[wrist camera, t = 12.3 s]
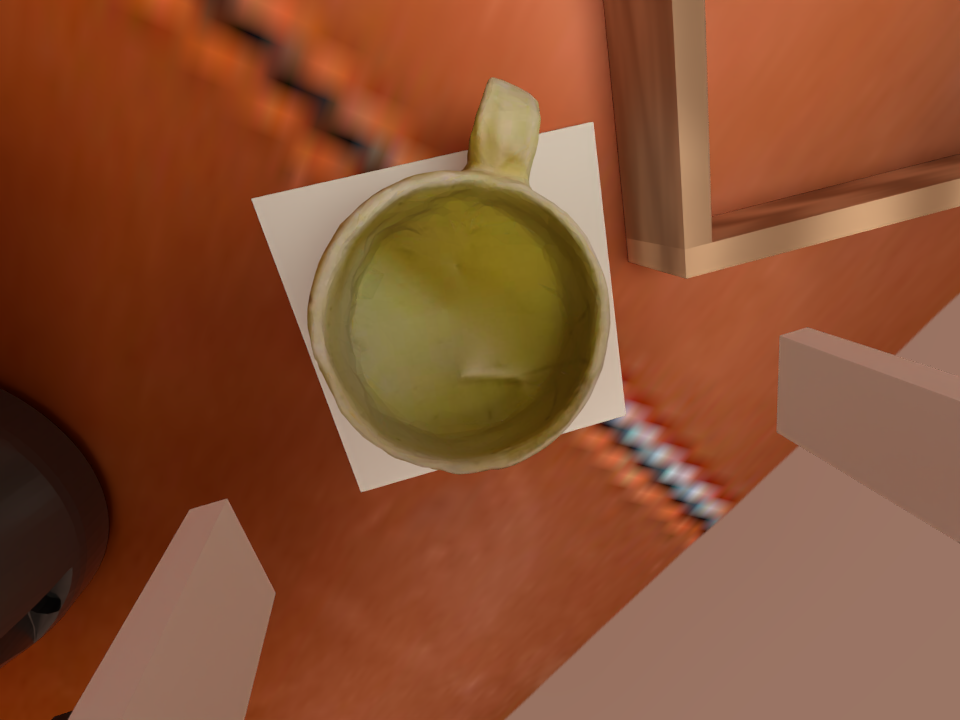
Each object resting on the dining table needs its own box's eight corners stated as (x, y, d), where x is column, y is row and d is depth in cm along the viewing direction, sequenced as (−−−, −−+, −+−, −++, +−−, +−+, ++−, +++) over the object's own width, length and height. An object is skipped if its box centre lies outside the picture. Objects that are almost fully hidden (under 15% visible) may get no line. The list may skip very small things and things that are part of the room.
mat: (361, 485, 25) (361, 492, 25) (254, 198, 20) (251, 198, 19) (621, 410, 27) (625, 415, 26) (587, 123, 21) (593, 121, 21)
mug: (534, 489, 22) (536, 544, 12) (342, 396, 23) (201, 376, 13) (639, 251, 23) (722, 116, 13) (447, 177, 24) (388, 7, 14)
